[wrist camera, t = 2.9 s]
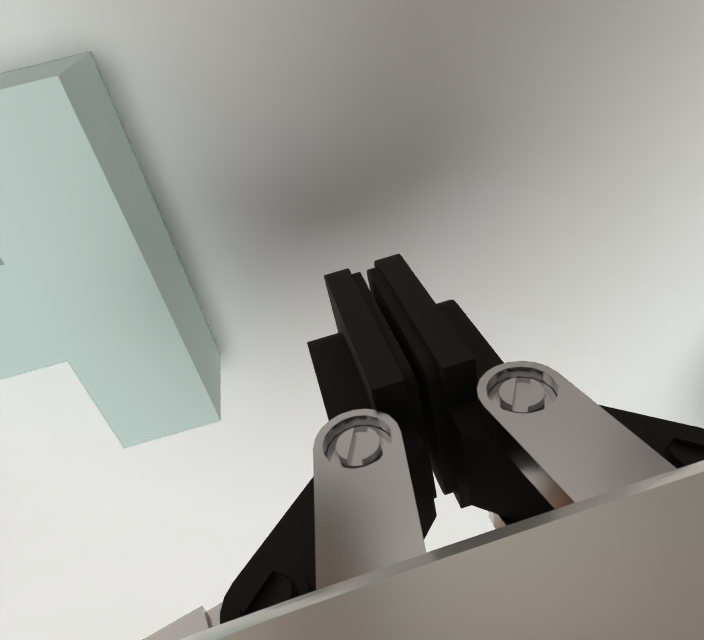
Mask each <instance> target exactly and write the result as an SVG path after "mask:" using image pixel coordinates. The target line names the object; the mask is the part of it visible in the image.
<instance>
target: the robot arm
mask: <svg viewBox="0 0 704 640" xmlns="http://www.w3.org/2000/svg"><path fill="white" fill-rule="evenodd" d="M374 266H375V268H372V269H368V270H367V276H368V281H369V286H370V290H371V291H370V290H369V288H368V286H367V284H366V282H365V280H364V278H363V277H362V275H361V273H360V272H358V273H354V274H351V272H350V270H349V268H348V269H344V270H341V271H337V272H334V273H330V274H327V275H324V278H325V283H326V287H327V291H328V294H329V298H330V302H331V306H332V310H333V314H334V317H335V321H336V325H337V329H338V333H337V334H333V335H330V336H327V337H323V338H320V339H317V340H313V341H310V342H307V344H308V348H309V351H310V355H311V358H312V362H313V366H314V369H315V373H316V376H317V380H318V384H319V387H320V391H321V394H322V398H323V401H324V405H325V409H326V412H327V416H328V419H329V422H328V423H326V424H325V425H324V426H323V427H322V428H321V429H320V431H319V433H318V435H317V436H316V438H315V442H314V448H313V463H314V476H313V478H312V479H311V480H310V482H309V483H308V484H307V486H306V487H305V488H304V490H303V491H302V492H301V494H300V495H299V496H298V498H297V499H296V500H295V501H294V503H293V504H292V505H291V507H290V508H289V509H288V511H287V512H286V513H285V515H284V516H283V517H282V519H281V520H280V521H279V523H278V524H277V525H276V526H275V528H274V529H273V530H272V532H271V533H270V534H269V536H268V537H267V538H266V540H265V541H264V542H263V544H262V545H261V546H260V548H259V549H258V550H257V551H256V553H255V554H254V555H253V557H252V558H251V559H250V561H249V562H248V563H247V565H246V566H245V567H244V569H243V570H242V571H241V572H240V574H239V575H238V576H237V578H236V579H235V580H234V582H233V583H232V585H231V587H230V588H229V590H228V592H227V593H226V595H225V597H224V600H223V602H222V603H220V604H219V605H217V606H215V607H214V608H212V609H210V610H208V611H207V612H206V610H205V609H204V607H203V606H201V607H199V608H197V609H196V610H194V611H192V612H190V613H189V614H187V615H185V616H183V617H182V618H180V619H178V620H176V621H175V622H173V623H171V624H169V625H168V626H166V627H164V628H162V629H161V630H159V631H157V632H155V633H154V634H152V635H150V636H148V637H147V638H145V639H143V640H704V429H703V428H699V427H695V426H690V425H686V424H681V423H677V422H672V421H668V420H664V419H659V418H655V417H650V416H646V415H641V414H637V413H633V412H628V411H624V410H619V409H615V408H610V407H606V406H602V405H598V404H596V403H595V402H594V401H593V400H592V399H590V398H589V397H588V396H587V395H585V394H584V393H583V392H582V391H580V390H579V389H578V388H577V387H575V386H574V385H573V384H572V383H570V382H569V381H568V380H567V379H566V378H564V377H563V376H562V375H561V374H559V373H558V372H556V371H555V370H553V369H551V368H550V367H548V366H545V365H542V364H539V363H536V362H528V361H515V362H507V363H504V362H503V361H502V360H501V359H500V357H499V356H498V355H497V354H496V352H495V351H494V350H493V349H492V347H491V346H490V345H489V343H488V342H487V341H486V340H485V338H484V337H483V336H482V335H481V333H480V332H479V331H478V329H477V328H476V327H475V326H474V324H473V323H472V322H471V321H470V319H469V318H468V317H467V316H466V314H465V313H464V312H463V310H462V309H461V308H460V307H459V305H458V304H457V303H456V302H455V301H454V300H448V301H444V302H441V303H438V304H436V303H435V302H434V301H433V299H432V298H431V296H430V295H429V294H428V292H427V291H426V290H425V288H424V287H423V285H422V284H421V283H420V281H419V280H418V278H417V277H416V276H415V274H414V273H413V271H412V270H411V269H410V267H409V266H408V265H407V263H406V262H405V260H404V259H403V258H402V256H401V255H400V254H397V255H393V256H390V257H386V258H383V259H379V260H376V261H375V262H374ZM432 470H433V471H432ZM433 473H434V475H435V477H436V479H437V481H438V483H439V485H440V488H441V490H442V492H443V493H444V494H445V495H446V494H449V493H452V492H453V493H454V495H455V497H456V499H457V501H458V503H459V505H460V507H461V508H464V507H467V506H470V505H473V506H476V507H479V508H481V509H484V510H487V511H489V518H490V520H491V522H492V524H493V526H494V527H495V530H492V531H489V532H486V533H484V534H481V535H478V536H475V537H472V538H469V539H466V540H463V541H460V542H457V543H454V544H451V545H448V546H445V547H442V548H439V549H436V550H433V551H430V552H427V553H426V549H425V544H424V539H425V537H426V535H427V533H428V531H429V529H430V527H431V525H432V524H433V522H434V520H435V518H436V516H437V514H436V509H435V503H434V498H436V497H437V495H436V489H435V483H434V477H433Z"/></svg>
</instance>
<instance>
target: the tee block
mask: <svg viewBox="0 0 704 640" xmlns="http://www.w3.org/2000/svg"><path fill="white" fill-rule="evenodd" d="M66 361H68V363H69V364H70V366H71V368H72V369H73V371H74V372H75V374H76V375H77V377H78V378H79V380H80V381H81V383H82V385H83V386H84V388H85V389H86V391H87V392H88V394H89V395H90V397H91V398H92V400H93V402H94V403H95V405H96V406H97V408H98V409H99V411H100V412H101V414H102V415H103V417H104V419H105V420H106V422H107V423H108V425H109V426H110V428H111V429H112V431H113V432H114V434H115V436H116V437H117V439H118V440H119V442H120V443H121V445H122V446H123V448H127V447H130V446H134V445H137V444H141V443H144V442H148V441H151V440H155V439H158V438H162V437H165V436H169V435H172V434H176V433H179V432H183V431H186V430H190V429H193V428H197V427H200V426H203V425H207V424H210V423H214V422H217V421H221V413H220V352H219V350H218V347H217V345H216V343H215V340H214V338H213V336H212V333H211V331H210V329H209V326H208V324H207V322H206V319H205V317H204V315H203V312H202V310H201V308H200V305H199V303H198V301H197V298H196V296H195V294H194V291H193V289H192V287H191V284H190V282H189V280H188V277H187V275H186V273H185V270H184V268H183V266H182V263H181V261H180V259H179V256H178V254H177V252H176V249H175V247H174V245H173V242H172V240H171V238H170V235H169V233H168V231H167V228H166V226H165V224H164V221H163V219H162V217H161V214H160V212H159V210H158V207H157V205H156V203H155V200H154V198H153V196H152V193H151V191H150V189H149V186H148V184H147V182H146V179H145V177H144V175H143V172H142V170H141V168H140V165H139V163H138V161H137V158H136V156H135V154H134V151H133V149H132V147H131V144H130V142H129V140H128V137H127V135H126V133H125V130H124V128H123V126H122V123H121V121H120V119H119V116H118V114H117V112H116V109H115V107H114V105H113V102H112V100H111V98H110V95H109V93H108V91H107V88H106V86H105V84H104V81H103V79H102V77H101V74H100V72H99V70H98V67H97V65H96V63H95V60H94V58H93V56H92V53H91V52H87V53H83V54H79V55H75V56H71V57H67V58H63V59H58V60H54V61H50V62H46V63H42V64H38V65H34V66H30V67H26V68H21V69H17V70H13V71H9V72H5V73H1V74H0V380H1V379H4V378H8V377H12V376H15V375H19V374H23V373H26V372H30V371H33V370H37V369H41V368H44V367H48V366H51V365H55V364H59V363H62V362H66Z"/></svg>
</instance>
